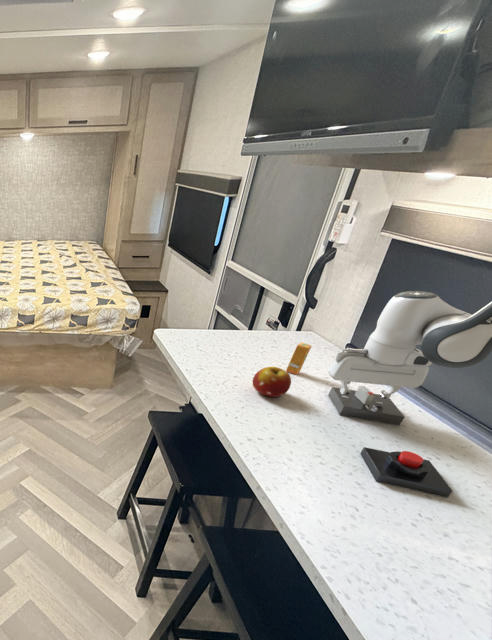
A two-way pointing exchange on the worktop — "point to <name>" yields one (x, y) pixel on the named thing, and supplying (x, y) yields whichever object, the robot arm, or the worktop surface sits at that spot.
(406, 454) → the button
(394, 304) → the robot arm
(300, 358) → the supplement box
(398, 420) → the panel
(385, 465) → the switch
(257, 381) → the fruit
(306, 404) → the worktop surface
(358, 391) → the stove knob
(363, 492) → the worktop surface
